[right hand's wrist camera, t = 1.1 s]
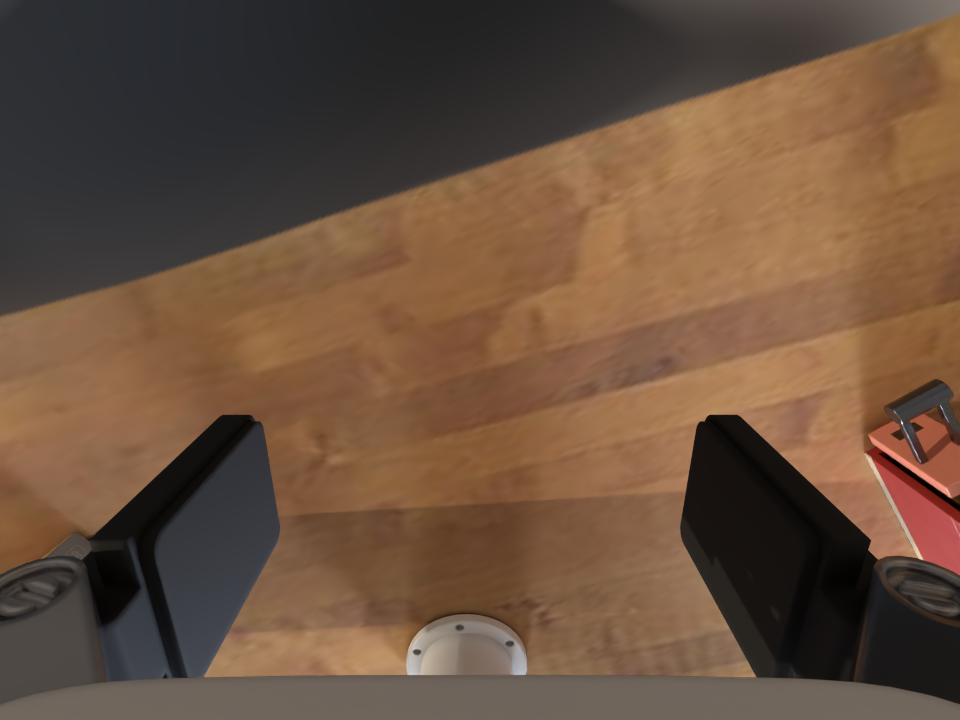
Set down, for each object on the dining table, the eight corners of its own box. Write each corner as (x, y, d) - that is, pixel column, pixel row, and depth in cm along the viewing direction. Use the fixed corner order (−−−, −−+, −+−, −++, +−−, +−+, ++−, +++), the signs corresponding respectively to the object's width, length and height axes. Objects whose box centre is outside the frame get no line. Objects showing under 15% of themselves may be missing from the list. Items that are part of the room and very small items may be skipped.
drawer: (840, 382, 42) (917, 427, 35) (890, 354, 41) (979, 395, 34) (943, 583, 50) (1024, 656, 42) (986, 563, 49) (1077, 634, 41)
